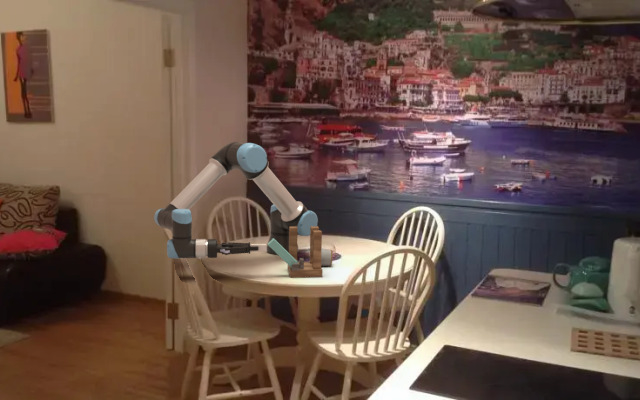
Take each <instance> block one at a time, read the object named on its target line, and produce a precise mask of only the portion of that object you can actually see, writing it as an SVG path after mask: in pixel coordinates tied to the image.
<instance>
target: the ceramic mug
mask: <svg viewBox="0 0 640 400" xmlns="http://www.w3.org/2000/svg"><path fill="white" fill-rule="evenodd" d="M333 256H334V255H333V250H332V249H329V248H328V249H327V248H322V249H321V267H330V266H332V264H333Z"/></svg>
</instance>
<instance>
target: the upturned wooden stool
mask: <svg viewBox="0 0 640 400" xmlns="http://www.w3.org/2000/svg"><path fill="white" fill-rule="evenodd" d="M322 237H323V231H322V230H320V228H319V226H318V225H317V226H310V235H309V241H310V242H309V261H305V259H304V257H299V260H298V252H297V244H298V234H297V226H293V227H289V254H290V255H291V256H292V257H293V258H294V259H295V260H296V261H297V262H298V264H292V268H291V267H290V266H289V265H288V264H287V272H288V275H289V277H290V278H291V279H294V278H295V279H297V278H307V279H308V278H323V268H322V266H321V249H323V248H322V245H323V243H322V242H323V241H322V240H323V239H322Z"/></svg>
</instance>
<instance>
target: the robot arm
mask: <svg viewBox="0 0 640 400" xmlns="http://www.w3.org/2000/svg"><path fill="white" fill-rule="evenodd" d="M267 157H268V155H267V152H266V150H265V149H264V147H262V146H261V145H258V144H257V143H252V142H241V141H232V142H229V143H227V144H226V145H224V146H223V147H221V148H220V149H219V150H217V151H216V153H214V154H213V155H212V156H211V157H210V158H209V162H208V164H207V165H206V166H205V167H204V168H203V169H202V170H201V171H200V172H199V173H198V174H197V175H196V176H195V177H194V178H193V179H192V180H191V181H190V182H189V183H188V184H187V185H186V186H185V187H184V188H183V189H182V190H181V192H180V193H178V195H176V196H175V198H173V199H172V201H171V202H170V203H169V204H168V205H167V206H166V207H165V208H159V209H158V210H156V211H155V213H154V216H153V219H154V222H155V224H156V225H158V227H161V228H163V229H166V230H170V231H171V234H172V235H171V236H172V237H171V239H168V240H167V243H166V253H167V255H166V256H167V257H168V258H169V259H198V260H202V259H206V258H208V259H216V258H218V254H221V255H225V256H228V255H239V254H240V255H241V254H251V253H252V252H267V253H269V254H272V255H277V256H279V255H278V254H277V253H276V252H275V251H274V250H273V249H272V248H271V247H269V246H268V243H269V242H270V241H271V240H272V239H273V238H274V239H275V240H276V241H277V242H278V243H279V244H280V245H281V246H282V247H283V248H284V249H285V250H286V251H287V252H288V253H289V227H293V226H297V235H299V236H302V237H303V236H304V237H308V236H309V237H310V226H318V223H319V220H318V216H317V214H316V213H315V211H313V210H308V209H307V207H306V206H305V204H304V203H303V202H302V201H299V200H298V201H297V200H296V199H295V198H294V197H293V196H292V194H291V193H290V192H289V191H288V189H287V188H286V186H284V185H283V183H282V182H281V181H280V180H279V178H278V177H277V176H276V175H275V173H274V172H273V171H272V170H271V169H270V168H269V162H270V161H268V158H267ZM233 170H236V171H237V170H239V172H241V173H242V175H243V176H244V177H245V178H246V180H249V181H250V180H252V181H253V182H254V183H255V184H256V185H257V186H258V188H259V189H260V190H261V191H262V192H263V194H264V195H265V196H266V197H267V198H268V200H269V201H270V202H271V203H272V204H271V206H270V212H269V214H270V217H269V219H270V226H269V229H270V233H269V238H268V242H267V244H266V243H254V244H253V243H251V242H232V241H231V242H230V241H224V242H221V243H218V239H217V238H209V239H206V238H192V236H193V234H192V232H193V231H192V230H193V229H192V228H193V226H192V225H193V219H192V211H191V210H190V209H192V208H193V206H194V205H196V203H197V202H198V201H199V200H200V199H201V198H202V197H203V196H204V195H205V194H206V193H207V192H208V191H209V190H210V189H211V188H212V187H213V185H215V184H216V182H218V181H219V180H220V178H222V176H227V175H228V174H229V173H230V172H231V171H233ZM297 253H299V245H298V243H297Z"/></svg>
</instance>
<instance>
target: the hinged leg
mask: <svg viewBox="0 0 640 400" xmlns="http://www.w3.org/2000/svg"><path fill="white" fill-rule="evenodd" d="M267 244H268V246H269V247H271V248H272V249H273V250H274V251H275V252H276V253H277V254H278V255H277V254H276V255H277V256H279V257H280V258H281V260H283V261H284V262H285V263H286V264H287V266H288V265H289V266H290V267H291V268H292V264H298V262H299V261H298V260H297V261H298V262H297V261H296V260H295V259H294V258H293V257H292V256H291V255H290V254H289V253H288V252H287V251H286V250H285V249H284V248H283V247H282V246H281V245H280V244H279V243H278V242H277V241H276V240H275V239H274V238H273V239H272V240H271V241H270V242H269V243H268V242H267Z"/></svg>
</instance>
